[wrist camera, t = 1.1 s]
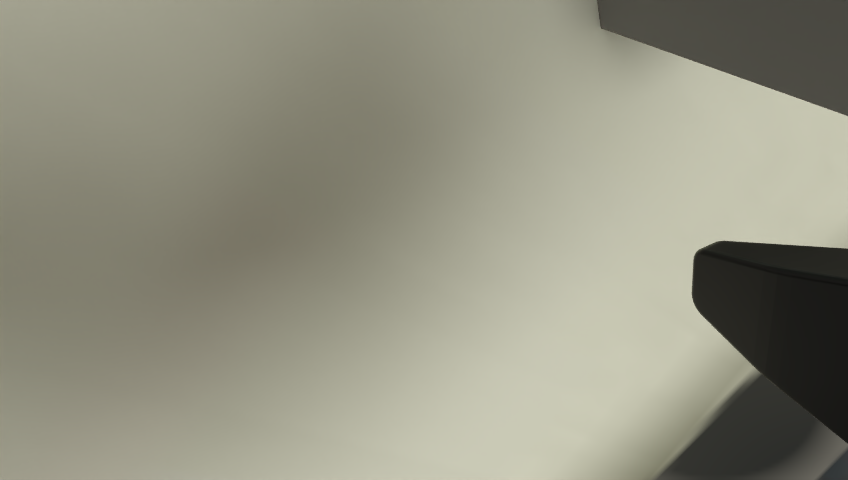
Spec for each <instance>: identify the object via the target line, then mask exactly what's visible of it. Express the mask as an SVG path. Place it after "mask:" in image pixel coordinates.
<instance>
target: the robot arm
mask: <svg viewBox="0 0 848 480" xmlns="http://www.w3.org/2000/svg"><path fill="white" fill-rule="evenodd" d="M692 298H693V302H694V304H695V306H696V308H697V310H698V311H699V312H700V314H701V315H702V316H703V317H704V318H705V319H706V320H707V321H708V322H709V323H710V324H711V325H712V326H713V327H714V328H715V329H716V330H717V331H718V332H719V333H720V334H721V335H722V336H723V337H724V338H725V339H727V340H728V341H729V342H730V343H731V344H732V345H733V346H734V347H735V348H736V349H737V350H738V351H739V352H740V353H741V354H742V355H743V356H744V357H745V358H746V359H747V360H748V361H749V362H750V363H751V364H752V365H753V366H754V367H755V368H756V369H757V370H758V371H759V372H760V373H761V374H762V375H764V376H765V377H766V378H767V379H768V380H769V381H771V382H772V383H773V384H774V385H775V386H776V387H778V388H779V389H780V390H781V391H783V392H784V393H785V394H786V395H788V396H789V397H790V398H791V399H793V400H794V401H795V402H796V403H798V404H799V405H800V406H802V407H803V408H804V409H805V410H806V411H808V412H809V413H810V414H811V415H813V416H814V417H815V418H816V419H818V420H819V421H820V422H821V423H823V424H824V425H825V426H826V427H828V428H829V429H830V430H831V431H833V432H834V433H835V434H836V435H838V436H839V437H840V438H841V439H843V440H844V441H845V442H846V443H848V249H844V248H828V247H812V246H796V245H781V244H765V243H749V242H733V241H718V242H715V243H713V244H711V245H708V246H706V247H704V248H701V249H699V250H698V251H697V252H696V254H695V256H694V261H693V280H692Z"/></svg>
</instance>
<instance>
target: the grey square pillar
mask: <svg viewBox="0 0 848 480" xmlns="http://www.w3.org/2000/svg"><path fill="white" fill-rule="evenodd" d="M597 1H598V9H599V16H600V24H601V28H602V29H605V30H608V31H611V32H614V33H616V34H619V35H622V36H625V37H628V38H630V39H633V40H636V41H639V42H642V43H644V44H647V45H650V46H653V47H656V48H659V49H661V50H664V51H667V52H670V53H673V54H675V55H678V56H681V57H684V58H687V59H689V60H692V61H695V62H698V63H701V64H703V65H706V66H709V67H712V68H715V69H718V70H720V71H723V72H726V73H729V74H732V75H734V76H737V77H740V78H743V79H746V80H748V81H751V82H754V83H757V84H760V85H762V86H765V87H768V88H771V89H774V90H776V91H779V92H782V93H785V94H788V95H791V96H793V97H796V98H799V99H802V100H805V101H807V102H810V103H813V104H816V105H819V106H821V107H824V108H827V109H830V110H833V111H835V112H838V113H841V114H844V115H847V116H848V0H597Z"/></svg>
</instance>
